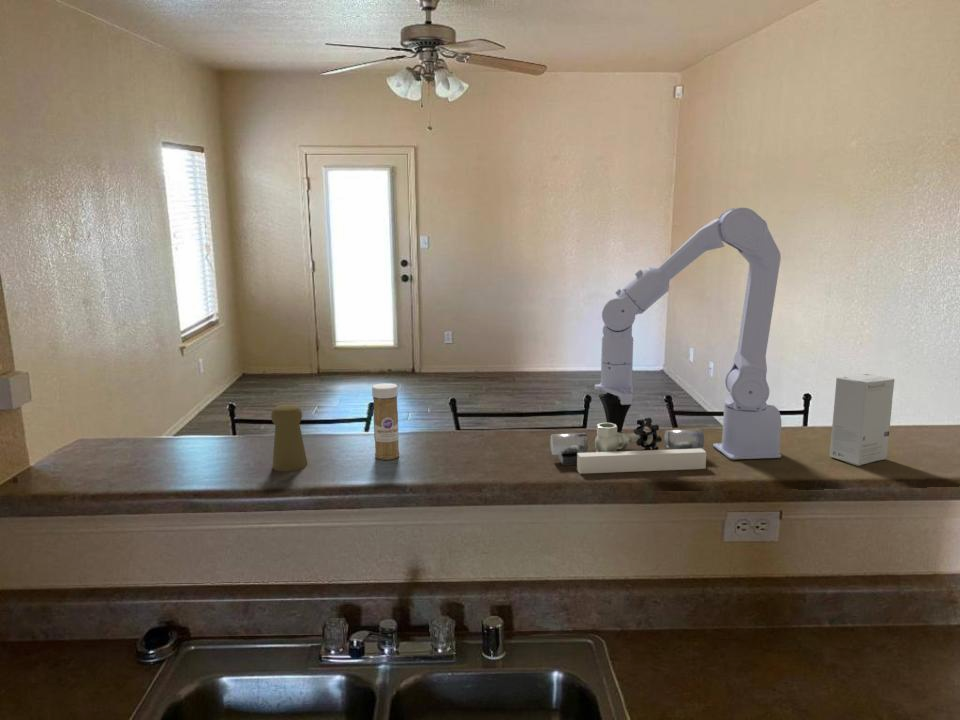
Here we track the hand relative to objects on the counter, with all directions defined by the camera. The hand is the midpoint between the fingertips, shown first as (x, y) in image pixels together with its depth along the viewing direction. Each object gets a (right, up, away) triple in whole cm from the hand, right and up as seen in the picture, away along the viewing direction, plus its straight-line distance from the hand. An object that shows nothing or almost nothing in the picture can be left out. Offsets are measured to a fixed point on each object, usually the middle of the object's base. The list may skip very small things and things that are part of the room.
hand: (614, 432), depth 132 cm
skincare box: (+42, -4, -8) cm, 43 cm away
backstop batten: (+2, -5, -12) cm, 14 cm away
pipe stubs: (+1, -4, -7) cm, 8 cm away
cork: (-59, -5, -9) cm, 60 cm away
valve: (0, -4, -6) cm, 7 cm away
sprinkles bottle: (-43, -4, -4) cm, 43 cm away
